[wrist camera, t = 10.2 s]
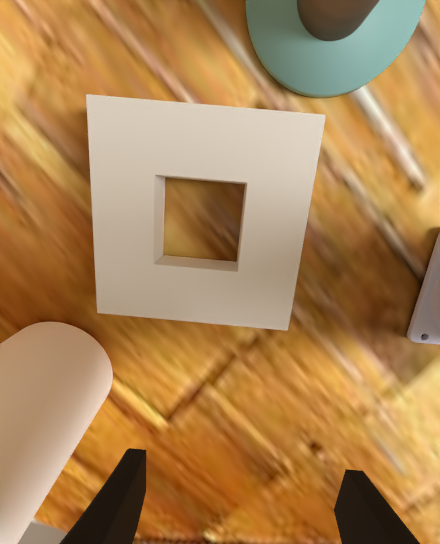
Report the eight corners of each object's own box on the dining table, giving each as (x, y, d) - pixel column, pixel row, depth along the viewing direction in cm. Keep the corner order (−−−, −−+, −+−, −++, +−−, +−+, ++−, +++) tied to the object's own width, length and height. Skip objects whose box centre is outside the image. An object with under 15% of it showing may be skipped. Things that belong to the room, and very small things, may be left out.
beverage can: (18, 303, 20) (-285, 461, 8) (126, 335, 20) (-16, 527, 8) (9, 390, 22) (-238, 611, 10) (106, 417, 22) (-27, 658, 11)
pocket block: (310, 127, 16) (325, 114, 13) (280, 313, 19) (287, 330, 17) (108, 109, 16) (86, 94, 13) (113, 298, 19) (97, 312, 17)
